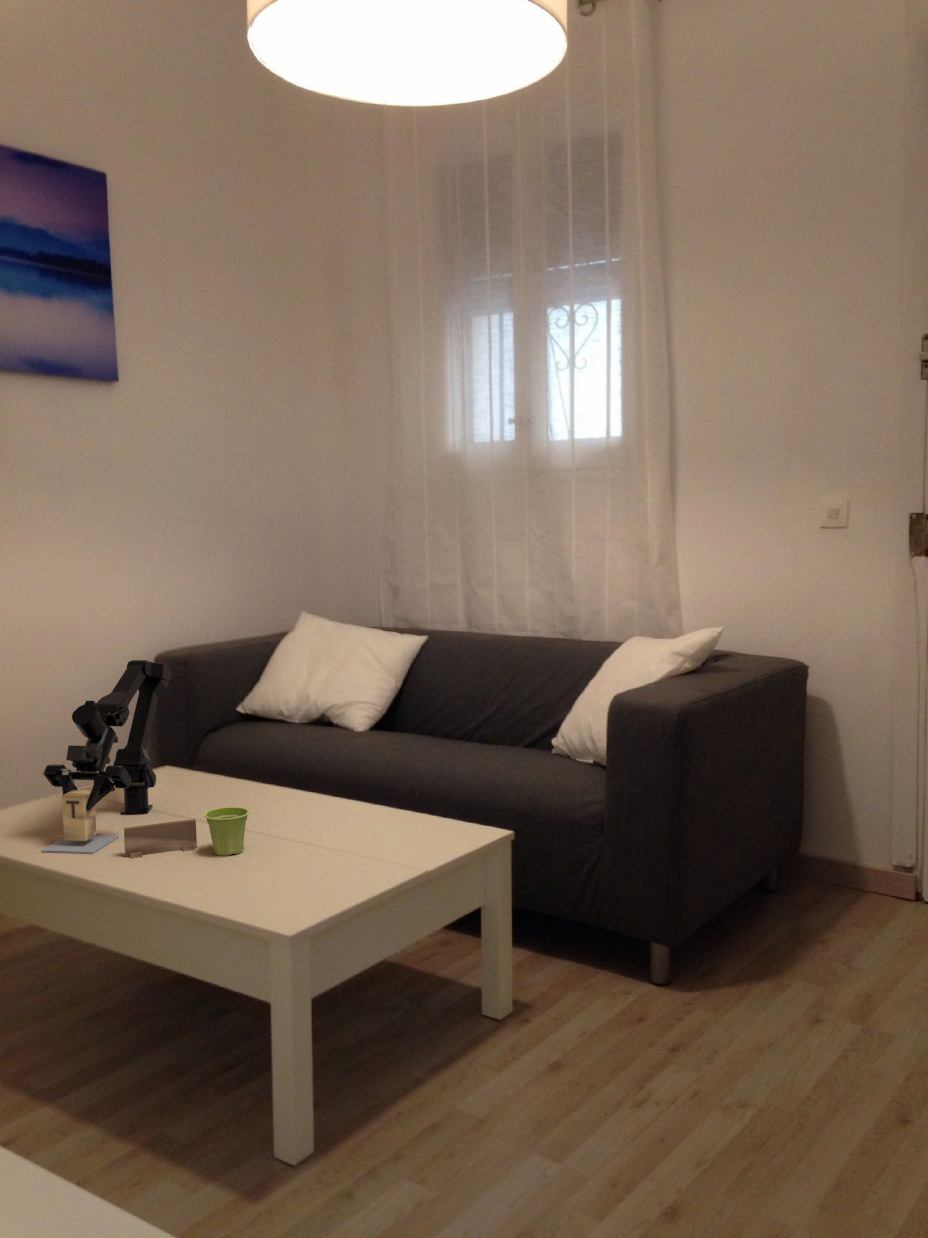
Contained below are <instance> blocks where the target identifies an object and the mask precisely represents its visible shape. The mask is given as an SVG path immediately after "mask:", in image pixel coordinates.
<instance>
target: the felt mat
mask: <svg viewBox="0 0 928 1238" xmlns="http://www.w3.org/2000/svg"><path fill="white" fill-rule="evenodd" d="M119 837H120V836H119V835H99V834H96V835H94V836H93V837H91V838H89V839H88V840H86V841H75V840H64V837H62V838H60V839H58V840H57V841H55V842H54V843H52V844H50V845H48V846H47V847H45V848H43V849H41V853H52V854H53V853H55V854H57V853H58V854H59V853H60V854H79V855H81V854H83V855H85V854H86V855H94V854H95V853H97V852H98V851H100V850H102V849H104V848H105V847H107V846H108V845H110V844H111V843H113V842H114V841H116V840H118V839H119Z"/></svg>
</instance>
